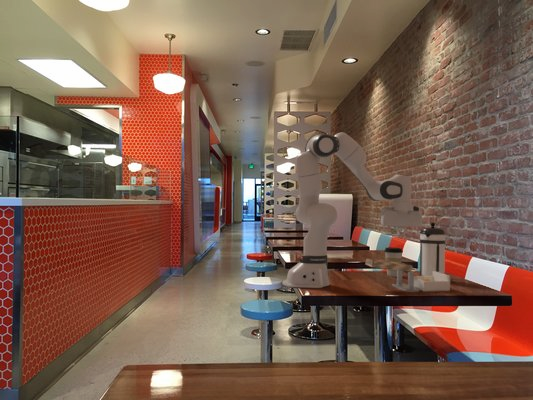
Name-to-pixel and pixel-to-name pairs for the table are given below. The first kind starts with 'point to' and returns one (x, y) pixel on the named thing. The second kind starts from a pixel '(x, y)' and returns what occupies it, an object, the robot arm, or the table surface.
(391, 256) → the coffee cup
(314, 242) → the robot arm
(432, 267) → the coffee press
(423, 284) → the dish
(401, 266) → the lever ramp
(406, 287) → the lever stand
